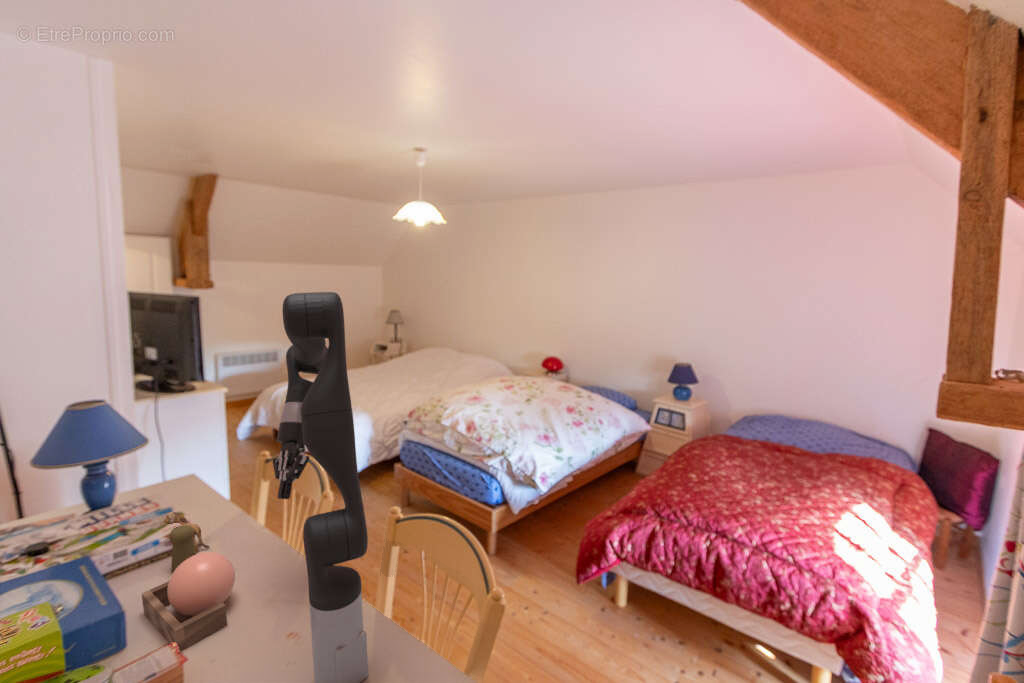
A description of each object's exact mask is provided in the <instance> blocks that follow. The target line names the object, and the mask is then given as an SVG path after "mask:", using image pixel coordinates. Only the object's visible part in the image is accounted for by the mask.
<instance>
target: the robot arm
mask: <svg viewBox="0 0 1024 683" xmlns="http://www.w3.org/2000/svg"><path fill="white" fill-rule="evenodd" d="M281 311H282V321H283V322H282V323H283V327H284V333H285V334H286V336H287V338H288V340H289V342H290V343H291V344H292V345H291V346H290V347H289V348H288V349H287V350H286V354H285V361H286V362H285V363H286V369H287V378H288V379H287V382H288V383H287V391H286V394H285V395H286V396H285V401H284V405H283V408H282V412H281V416H280V422H279V425H278V432H277V436H276V442H277V443H278V444H281V448H280V449H279V456H278V457H277V458H273V459H272V466H273V471H274V476H275V479H276V480H278V482H279V488H278V493H277V499H279V500H289V499H290V498H291V493H292V487H293V483H294V482H295V481H296V480H298V479H300V477H301V476H302V473H303V471H304V469H305V468H306V466H307V465H308V462H309V460H310V456H309V455H306V454H305V451H306V449H307V451H308V453H309V454H310V455H311V456H312V458H314V460H315V461H316V462H317V463H318V464H319V465H320V466H321V468H323V470H324V471H325V472H326V473H327V474H328V476H329V477H330V478H331V480H332V481H333V482H334V485H336V487H337V488H338V490H339V492H340V494H341V497H342V500H343V503H344V508H341V509H337V510H332V511H328V512H327V511H326V512H324V513H318V514H314V515H311V516H309V517H308V518H306V519H305V521H304V524H303V530H302V532H303V533H302V537H303V538H302V539H303V548H304V549H303V550H304V555H305V564H306V569H307V579H308V580H307V582H308V583H307V584H308V600H309V601H308V602H309V615H310V616H309V618H310V629H311V630H310V632H311V647H312V662H313V663H312V664H313V674H314V675H313V676H314V683H362V681H364V680H365V679H367V678H368V677H369V663H368V662H369V661H368V641H367V632H366V631H365V630H364V615H363V614H364V612H363V593H362V578H361V575H360V573H359V571H357V570H356V569H354V568H352V567H349V566H345V565H338V564H341V563H345V562H349V561H354V560H357V559H360V558H362V557H364V556H365V555H366V553H367V550H368V546H369V545H368V543H369V539H368V538H369V537H368V535H369V534H368V527H367V520H366V514H365V509H364V504H363V503H364V502H363V496H362V491H361V484H360V479H359V478H360V477H359V471H358V460H357V450H356V449H357V448H356V437H355V435H356V433H355V424H354V414H353V406H352V405H353V404H352V399H351V393H350V392H351V391H350V384H349V377H348V368H347V366H348V365H347V354H346V353H347V352H346V350H347V349H346V331H345V328H346V327H345V316H344V314H345V313H344V306H343V301H342V299H341V296H340V295H339V294H338V293H337V292H334V291H325V292H324V291H321V292H320V291H318V292H317V291H316V292H315V291H313V292H295V293H291V294H290V293H289V294H287V296H286V297H285V298H284V299H283V303H282V310H281ZM326 339H328V346H327V343H326ZM299 373H304V374H312V375H316V377H315V378H314V380H313V381H311V380H309V379H305V378H303V377H302V376H300V374H299Z"/></svg>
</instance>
